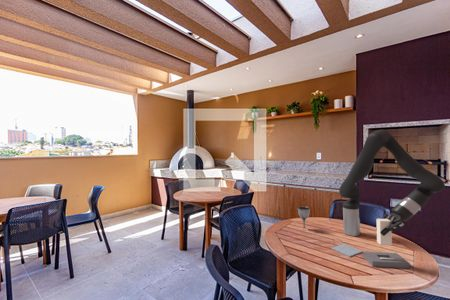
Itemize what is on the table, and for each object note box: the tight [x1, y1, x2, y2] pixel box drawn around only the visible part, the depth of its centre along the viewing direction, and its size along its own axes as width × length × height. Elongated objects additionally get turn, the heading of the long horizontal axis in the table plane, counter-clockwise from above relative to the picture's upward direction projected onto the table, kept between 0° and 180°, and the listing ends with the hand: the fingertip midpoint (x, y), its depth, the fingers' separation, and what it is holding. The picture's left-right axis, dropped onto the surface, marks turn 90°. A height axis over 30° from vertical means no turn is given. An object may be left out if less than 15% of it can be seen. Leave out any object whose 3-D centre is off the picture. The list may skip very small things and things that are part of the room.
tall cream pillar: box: [376, 218, 393, 246], centre depth 109 cm, size 5×4×12 cm
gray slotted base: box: [362, 251, 411, 269], centre depth 109 cm, size 16×10×3 cm, turn 81°
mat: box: [330, 243, 364, 258], centre depth 122 cm, size 11×11×1 cm
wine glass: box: [297, 206, 311, 228], centre depth 157 cm, size 8×8×15 cm
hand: (379, 232), depth 109 cm, fingers closed on tall cream pillar, 3 cm apart
